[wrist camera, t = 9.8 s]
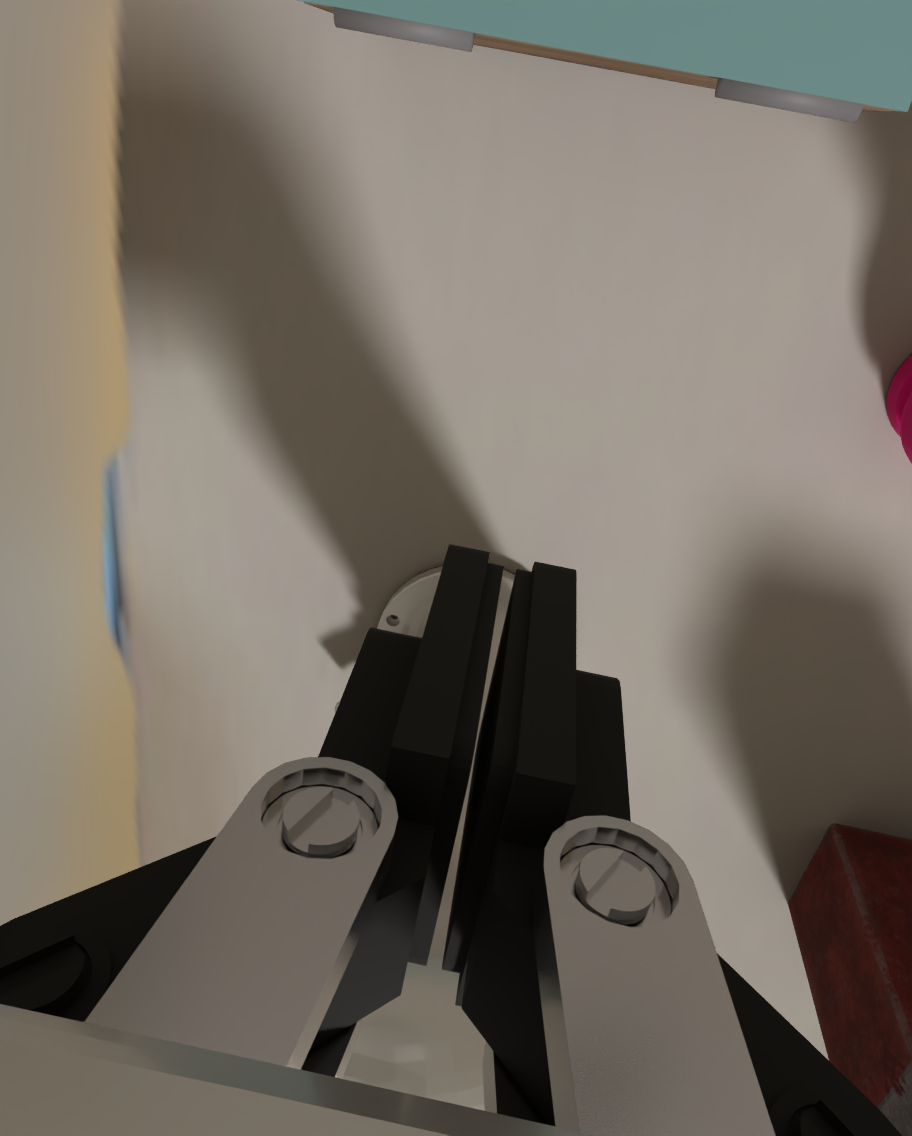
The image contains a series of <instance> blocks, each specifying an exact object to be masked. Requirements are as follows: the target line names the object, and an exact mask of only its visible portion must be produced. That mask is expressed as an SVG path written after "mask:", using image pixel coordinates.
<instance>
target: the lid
mask: <svg viewBox="0 0 912 1136" xmlns="http://www.w3.org/2000/svg"><path fill="white" fill-rule="evenodd" d="M298 1H302V2H307V3H313V4H318V5H323V6H329V7H334V23H335V26H336V27H338V28H344V29H349V30H354V31H360V32H365V33H371V34H376V35H381V36H387V37H392V38H398V39H403V40H409V41H414V42H419V43H425V44H430V45H436V46H441V47H447V48H452V49H457V50H463V51H468V52H471V51H472V48H473V44H474V39H475V33H476V34H481V35H487V36H492V37H498V38H503V39H508V40H514V41H519V42H525V43H530V44H536V45H541V46H546V47H552V48H557V49H563V50H568V51H574V52H579V53H585V54H590V55H595V56H601V57H606V58H612V59H617V60H623V61H628V62H634V63H639V64H644V65H650V66H655V67H661V68H666V69H672V70H677V71H682V72H688V73H693V74H699V75H704V76H710V77H715V78H718V81H717V85H716V90H715V97H717V98H723V99H728V100H734V101H739V102H745V103H750V104H755V105H761V106H766V107H772V108H777V109H782V110H788V111H793V112H799V113H804V114H810V115H815V116H820V117H826V118H831V119H837V120H842V121H848V122H853V123H854V122H855V121H856V120H857V119H858V117H859V116H860V114H861V112H862V110H863V107H864V105H867V106H873V107H878V108H884V109H889V110H895V111H903V112H908V109H909V107H910V104H911V102H912V0H298Z"/></svg>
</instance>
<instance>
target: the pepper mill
mask: <svg viewBox="0 0 912 1136" xmlns="http://www.w3.org/2000/svg"><path fill="white" fill-rule="evenodd" d="M887 414H888V417H889V420H890V423H891V425H892V427H893V428H894V430H895V431H896V432H897V434H898V435H899V436H900V437H901V440H902V445H903V448H904V450H905V453H906V455H907V457H908V458H909V460H910V462H911V463H912V355H911V356H910V357H909V358H908V359H907V360H906V361H905V362H904V363H903V364H902V366H901V367H900V368H899V369H898V371H897V372H896V374H895V376H894V378H893V380H892V382H891V384H890V387H889V390H888V395H887Z"/></svg>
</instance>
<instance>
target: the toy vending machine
mask: <svg viewBox="0 0 912 1136" xmlns="http://www.w3.org/2000/svg"><path fill="white" fill-rule="evenodd" d="M788 906H789V910H790V913H791V917H792V921H793V925H794V929H795V932H796V936H797V940H798V944H799V948H800V951H801V955H802V959H803V963H804V967H805V970H806V974H807V978H808V982H809V986H810V990H811V993H812V997H813V1001H814V1005H815V1009H816V1012H817V1016H818V1020H819V1024H820V1028H821V1031H822V1035H823V1039H824V1043H825V1047H826V1051H827V1054H828V1058H829V1061H830V1062H831V1063H832V1064H833V1065H834V1066H835V1067H836V1068H837V1069H838V1070H839V1071H840V1072H841V1073H842V1074H843V1075H844V1076H845V1077H846V1078H847V1079H848V1080H849V1081H850V1082H851V1083H852V1084H853V1085H854V1086H856V1087H857V1088H858V1089H859V1090H860V1091H861V1092H862V1093H863V1094H864V1095H865V1096H866V1097H867V1098H868V1099H869V1100H870V1101H871V1102H872V1103H873V1104H874V1105H875V1106H876V1107H877V1108H878V1109H879V1110H880V1111H881V1112H882V1113H883V1114H884V1115H885V1116H886V1117H887V1119H888V1120H889V1121H890V1122H891V1123H892V1124H893V1126H894V1127H895V1128H896V1129H897V1130H898V1131H899V1132H900V1134H901V1135H902V1136H912V840H909V839H904V838H900V837H895V836H890V835H886V834H881V833H876V832H872V831H867V830H862V829H857V828H853V827H848V826H843V825H839V824H832V825H831V826H830V827H829V829H828V831H827V833H826V835H825V836H824V838H823V840H822V842H821V844H820V846H819V847H818V849H817V851H816V853H815V855H814V857H813V859H812V860H811V862H810V864H809V866H808V868H807V870H806V871H805V873H804V875H803V877H802V879H801V881H800V882H799V884H798V886H797V888H796V890H795V892H794V894H793V895H792V897H791V899H790V901H789V903H788Z"/></svg>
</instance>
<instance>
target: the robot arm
mask: <svg viewBox="0 0 912 1136" xmlns="http://www.w3.org/2000/svg"><path fill="white" fill-rule="evenodd" d="M489 554H490V552H485V551H480V550H475V549H470V548H465V547H460V546H455V545H450V544H449V547H448V550H447V554H446V557H445V561H444V564H443V566H441V567H437V568H433V569H430V570H428V571H426V572H423V573H421V574H419V575H417V576H415V577H413V578H412V579H411V580H409V581H408V582H406V583H405V584H404V585H402V586H401V587H400V588H399V589H398V590H397V591H396V593H395V594H394V595H393V596H392V597H391V598H390V600H389V602H388V603H387V605H386V607H385V609H384V611H383V613H382V616H381V618H380V621H379V624H378V627H377V629H376V628H370V629H369V631H368V633H367V635H366V638H365V640H364V643H363V645H362V648H361V650H360V653H359V655H358V658H357V660H356V663H355V665H354V668H353V670H352V673H351V675H350V678H349V680H348V683H347V686H346V688H345V691H344V693H343V696H342V698H341V701H340V702H338V703H337V704H336V706H335V716H334V718H333V721H332V723H331V726H330V728H329V731H328V733H327V736H326V739H325V741H324V744H323V746H322V749H321V751H320V754H319V756H318V757H307V758H302V759H298V760H294V761H290V762H286V763H284V764H282V765H280V766H278V767H276V768H274V769H273V770H271V771H269V772H267V773H266V774H265V775H264V776H263V777H262V778H261V779H260V780H259V781H258V782H257V783H256V784H255V785H254V786H253V787H252V788H251V789H250V791H249V792H248V794H247V795H246V796H245V798H244V799H243V801H242V802H241V803H240V805H239V806H238V808H237V809H236V810H235V812H234V813H233V815H232V816H231V817H230V819H229V820H228V822H227V823H226V824H225V826H224V827H223V829H222V830H221V831H220V833H219V834H218V836H216V837H214V838H212V839H209V840H207V841H204V842H202V843H199V844H197V845H194V846H192V847H189V848H187V849H185V850H182V851H180V852H177V853H175V854H172V855H170V856H167V857H165V858H162V859H160V860H157V861H155V862H153V863H150V864H148V865H145V866H143V867H140V868H138V869H135V870H133V871H130V872H128V873H125V874H123V875H121V876H118V877H116V878H113V879H111V880H108V881H106V882H104V883H101V884H99V885H97V886H94V887H91V888H89V889H86V890H84V891H82V892H79V893H76V894H74V895H71V896H69V897H67V898H64V899H62V900H59V901H57V902H54V903H52V904H49V905H47V906H44V907H42V908H39V909H37V910H35V911H32V912H30V913H28V914H25V915H22V916H20V917H17V918H15V919H13V920H11V921H9V922H7V923H5V924H3V925H2V926H0V1136H902V1135H901V1134H900V1132H899V1131H898V1130H897V1129H896V1128H895V1127H894V1126H893V1124H892V1123H891V1122H890V1121H889V1120H888V1119H887V1117H886V1116H885V1115H884V1114H883V1113H882V1112H881V1111H880V1110H879V1109H878V1108H877V1107H876V1106H875V1105H874V1104H873V1103H872V1102H871V1101H870V1100H869V1099H868V1098H867V1097H866V1096H865V1095H864V1094H863V1093H862V1092H861V1091H860V1090H859V1089H858V1088H857V1087H856V1086H854V1085H853V1084H852V1083H851V1082H850V1081H849V1080H848V1079H847V1078H846V1077H845V1076H844V1075H843V1074H842V1073H841V1072H840V1071H839V1070H838V1069H837V1068H836V1067H835V1066H834V1065H833V1064H832V1063H831V1062H830V1061H828V1060H827V1059H826V1058H825V1057H824V1056H823V1055H822V1054H821V1053H820V1052H819V1051H818V1050H817V1049H816V1048H815V1047H814V1046H813V1045H812V1044H811V1043H810V1042H809V1041H808V1040H807V1039H806V1038H805V1037H804V1036H802V1035H801V1034H800V1033H799V1032H798V1031H797V1030H796V1029H795V1028H794V1027H793V1026H792V1025H791V1024H790V1023H789V1022H788V1021H787V1020H786V1019H785V1018H784V1017H783V1016H782V1015H781V1014H780V1013H779V1012H778V1011H776V1010H775V1009H774V1008H773V1007H772V1006H771V1005H770V1004H769V1003H768V1002H767V1001H766V1000H765V999H764V998H763V997H762V996H761V995H760V994H759V993H758V992H757V991H756V990H755V989H754V988H753V987H752V986H750V985H749V984H748V983H747V982H746V981H745V980H744V979H743V978H742V977H741V976H740V975H739V974H738V973H737V972H736V971H735V970H734V969H733V968H732V967H731V966H730V965H729V964H728V963H727V962H726V961H724V960H723V959H722V958H721V957H720V956H719V955H718V954H717V952H716V949H715V946H714V943H713V940H712V937H711V934H710V931H709V928H708V925H707V921H706V918H705V915H704V912H703V909H702V906H701V903H700V900H699V897H698V893H697V890H696V887H695V884H694V881H693V879H692V877H691V875H690V873H689V871H688V869H687V867H686V865H685V863H684V861H683V860H682V859H681V858H680V857H679V856H678V854H677V853H676V852H675V851H674V850H673V849H672V848H671V846H670V845H669V844H668V843H666V842H665V841H663V840H662V839H661V838H659V837H658V836H657V835H655V834H654V833H653V832H651V831H650V830H648V829H646V828H644V827H641V826H639V825H637V824H635V823H633V822H631V820H630V806H629V793H628V779H627V766H626V752H625V739H624V725H623V712H622V698H621V687H620V681H619V680H618V679H617V678H613V677H608V676H603V675H599V674H594V673H589V672H584V671H579V670H576V570H574V569H569V568H564V567H559V566H554V565H549V564H544V563H539V562H534V565H533V568H532V572H529V571H524V570H519V569H517V570H516V573H515V575H514V574H512V573H510V572H507V571H505V570H503V568H504V566H499V565H494V564H489V563H488V559H489ZM394 615H396V616H394Z"/></svg>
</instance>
